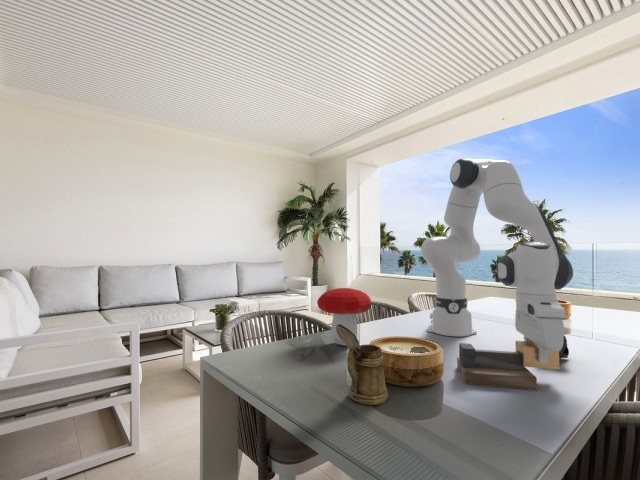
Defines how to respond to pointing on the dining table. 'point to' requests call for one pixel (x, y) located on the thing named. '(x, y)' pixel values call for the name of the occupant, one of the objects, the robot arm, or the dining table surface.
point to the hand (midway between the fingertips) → (536, 357)
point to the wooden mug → (364, 370)
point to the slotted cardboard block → (530, 356)
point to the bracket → (494, 368)
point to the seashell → (564, 350)
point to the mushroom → (344, 308)
